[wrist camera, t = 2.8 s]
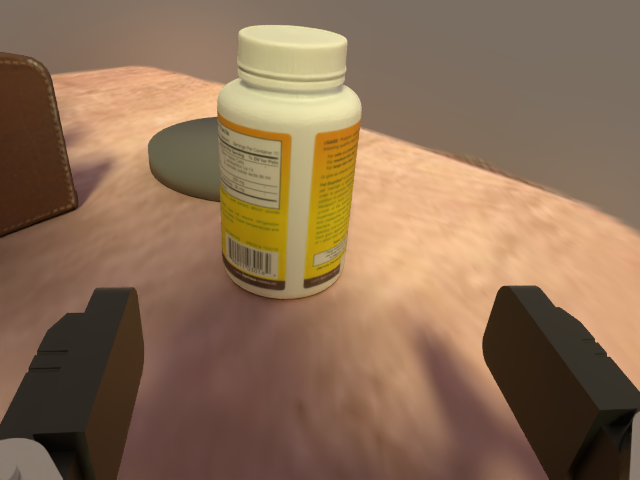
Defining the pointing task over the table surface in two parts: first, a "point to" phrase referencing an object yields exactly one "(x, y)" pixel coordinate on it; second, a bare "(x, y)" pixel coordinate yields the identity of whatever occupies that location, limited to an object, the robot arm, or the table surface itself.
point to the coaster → (188, 158)
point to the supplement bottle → (287, 161)
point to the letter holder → (31, 147)
